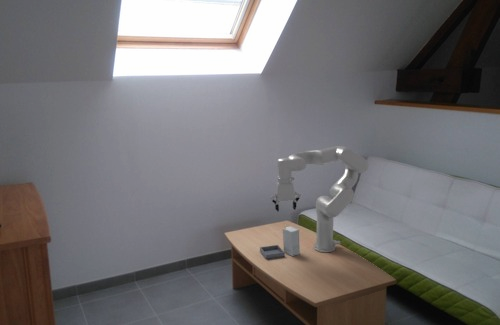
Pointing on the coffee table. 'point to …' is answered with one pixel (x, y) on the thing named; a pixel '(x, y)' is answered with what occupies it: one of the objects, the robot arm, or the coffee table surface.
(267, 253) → the tray
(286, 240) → the skincare box
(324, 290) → the coffee table surface
